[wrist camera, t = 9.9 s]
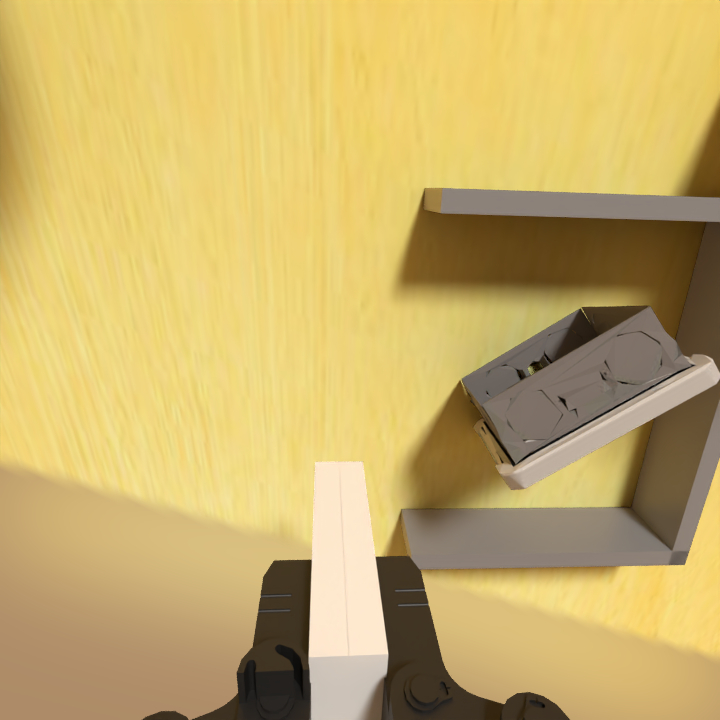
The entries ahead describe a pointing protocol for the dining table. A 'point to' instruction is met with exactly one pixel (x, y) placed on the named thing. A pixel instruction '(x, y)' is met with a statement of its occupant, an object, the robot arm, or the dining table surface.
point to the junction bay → (666, 443)
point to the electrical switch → (580, 389)
